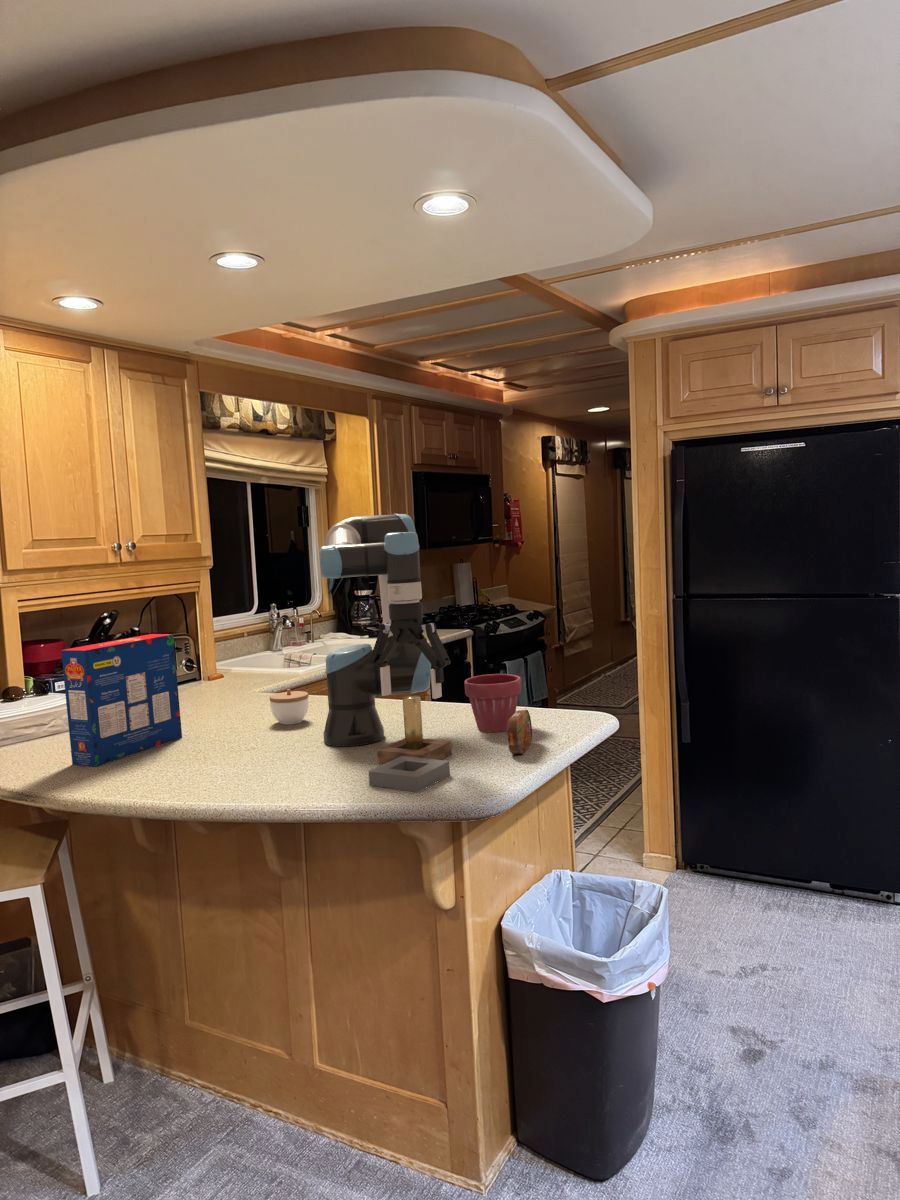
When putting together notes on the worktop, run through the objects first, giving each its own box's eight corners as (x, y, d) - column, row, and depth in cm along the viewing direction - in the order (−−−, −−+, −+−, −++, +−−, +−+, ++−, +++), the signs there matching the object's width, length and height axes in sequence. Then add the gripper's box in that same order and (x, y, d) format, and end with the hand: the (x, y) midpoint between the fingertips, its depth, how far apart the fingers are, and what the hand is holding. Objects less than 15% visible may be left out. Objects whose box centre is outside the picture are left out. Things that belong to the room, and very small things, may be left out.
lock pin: (403, 760, 186) (399, 698, 185) (412, 755, 189) (409, 695, 188) (417, 761, 184) (413, 700, 183) (427, 757, 187) (423, 696, 186)
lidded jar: (318, 719, 234) (315, 686, 233) (291, 728, 225) (289, 694, 224) (290, 716, 240) (287, 684, 239) (263, 725, 231) (260, 691, 230)
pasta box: (160, 736, 224) (150, 634, 222) (182, 737, 221) (173, 634, 219) (72, 764, 199) (61, 650, 197) (95, 767, 196) (84, 650, 194)
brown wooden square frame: (378, 763, 185) (377, 750, 184) (408, 749, 195) (407, 737, 195) (423, 768, 178) (422, 755, 178) (451, 754, 189) (450, 741, 188)
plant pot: (461, 735, 206) (458, 684, 205) (473, 721, 220) (470, 674, 218) (518, 735, 202) (515, 683, 201) (527, 721, 216) (524, 673, 215)
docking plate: (369, 785, 169) (368, 771, 168) (402, 769, 179) (401, 755, 179) (418, 792, 162) (417, 777, 162) (450, 775, 173) (449, 760, 172)
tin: (520, 758, 182) (518, 721, 181) (506, 758, 183) (504, 720, 182) (533, 741, 196) (532, 706, 196) (520, 740, 197) (518, 706, 197)
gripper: (350, 604, 187) (356, 696, 188) (444, 602, 174) (450, 702, 176) (370, 601, 193) (376, 690, 195) (462, 599, 180) (468, 695, 182)
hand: (411, 696), depth 185 cm, fingers open, 13 cm apart
